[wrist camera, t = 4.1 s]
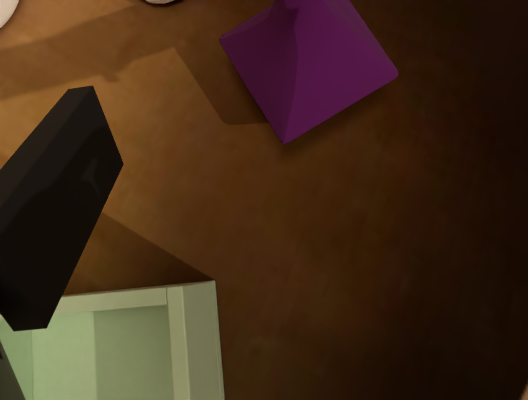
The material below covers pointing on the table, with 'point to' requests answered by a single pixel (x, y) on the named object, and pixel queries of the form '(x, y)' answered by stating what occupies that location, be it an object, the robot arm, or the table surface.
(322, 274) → the table surface
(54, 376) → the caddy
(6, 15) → the jar
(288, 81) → the perfume bottle
